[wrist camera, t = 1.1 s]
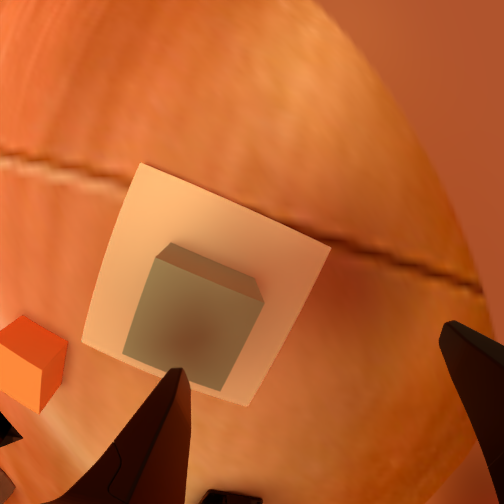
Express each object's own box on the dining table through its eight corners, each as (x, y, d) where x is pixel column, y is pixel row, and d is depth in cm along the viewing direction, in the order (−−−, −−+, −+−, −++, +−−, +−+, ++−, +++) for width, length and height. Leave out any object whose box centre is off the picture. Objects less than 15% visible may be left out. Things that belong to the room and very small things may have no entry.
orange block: (61, 383, 22) (39, 414, 17) (19, 358, 21) (-8, 384, 17) (68, 341, 22) (42, 370, 17) (23, 314, 21) (-9, 337, 16)
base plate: (246, 398, 24) (247, 407, 23) (86, 335, 22) (81, 341, 20) (326, 244, 22) (331, 247, 21) (144, 164, 20) (140, 162, 19)
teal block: (219, 352, 22) (220, 391, 17) (141, 320, 21) (121, 353, 16) (254, 278, 21) (264, 303, 16) (170, 242, 20) (155, 257, 15)
